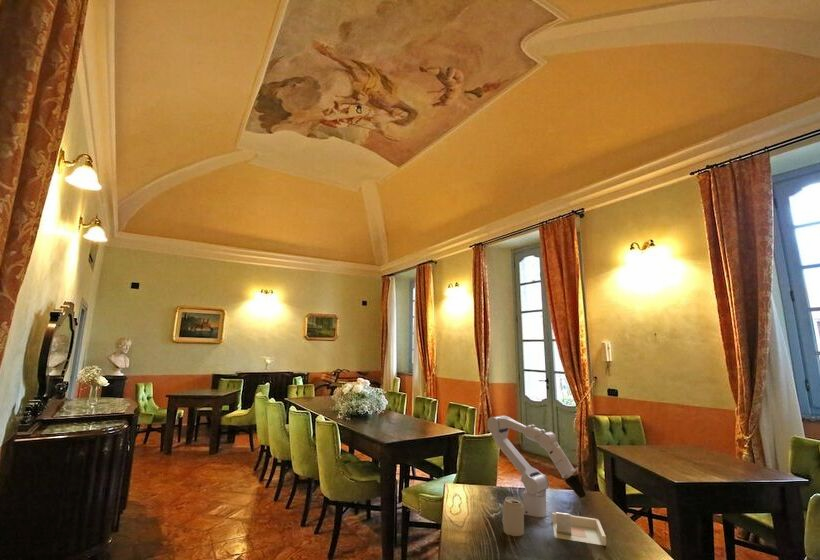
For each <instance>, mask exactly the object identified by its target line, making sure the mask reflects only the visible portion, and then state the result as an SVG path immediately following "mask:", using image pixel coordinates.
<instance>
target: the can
mask: <svg viewBox="0 0 820 560" xmlns="http://www.w3.org/2000/svg"><path fill="white" fill-rule="evenodd" d="M502 504H503V508H502V510H503V513H502V514H503V517H502V518H503V520H502V522H503V526H502V527H503V528H502V529H503V533H505V535H506V536H513V537H520V536H521V537H522V536H523V535H524V534H525V515H524V505H523V500H522V499H520V498H518V497H515V496H507V497H505V499H504V501H503V503H502Z"/></svg>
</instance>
